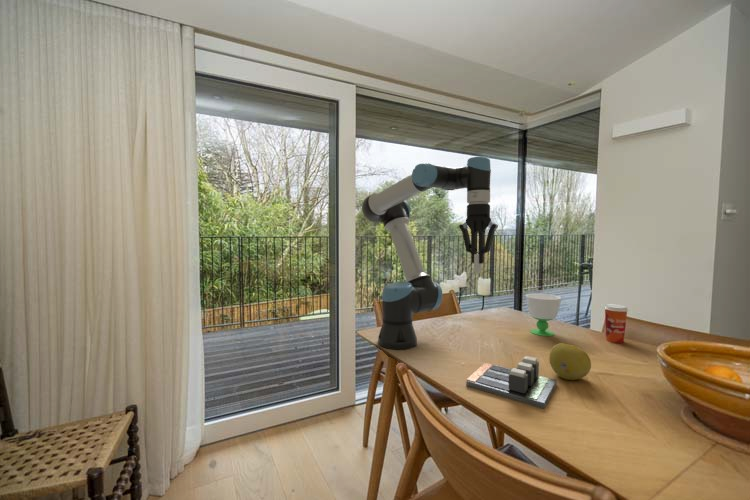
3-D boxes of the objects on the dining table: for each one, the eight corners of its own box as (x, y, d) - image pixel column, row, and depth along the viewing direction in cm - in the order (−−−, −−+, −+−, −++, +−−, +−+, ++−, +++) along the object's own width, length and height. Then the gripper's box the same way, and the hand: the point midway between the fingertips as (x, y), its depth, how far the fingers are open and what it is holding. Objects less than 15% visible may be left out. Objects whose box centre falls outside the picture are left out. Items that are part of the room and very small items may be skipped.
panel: (465, 385, 95) (465, 379, 94) (485, 367, 107) (486, 362, 107) (543, 408, 82) (544, 402, 82) (556, 385, 95) (556, 379, 94)
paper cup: (605, 342, 130) (607, 307, 129) (600, 336, 137) (601, 303, 136) (630, 345, 127) (631, 308, 126) (623, 339, 134) (625, 304, 133)
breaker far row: (521, 375, 97) (521, 358, 96) (523, 371, 99) (524, 355, 99) (536, 378, 94) (536, 361, 94) (538, 375, 96) (538, 358, 96)
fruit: (590, 388, 92) (592, 353, 92) (547, 379, 98) (548, 346, 98) (590, 375, 101) (591, 342, 100) (550, 367, 107) (551, 336, 106)
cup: (561, 331, 144) (562, 295, 144) (559, 340, 133) (560, 300, 132) (527, 326, 152) (527, 292, 151) (522, 334, 140) (523, 297, 139)
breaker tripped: (508, 389, 88) (508, 370, 88) (511, 385, 90) (512, 367, 90) (524, 393, 86) (524, 374, 85) (527, 389, 88) (527, 370, 88)
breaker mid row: (515, 382, 92) (515, 364, 92) (518, 378, 95) (519, 361, 94) (531, 386, 90) (531, 367, 89) (533, 382, 92) (534, 364, 92)
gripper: (455, 204, 114) (455, 272, 116) (493, 202, 106) (492, 275, 107) (464, 205, 120) (464, 270, 121) (501, 203, 112) (500, 273, 113)
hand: (477, 272), depth 114 cm, fingers closed
